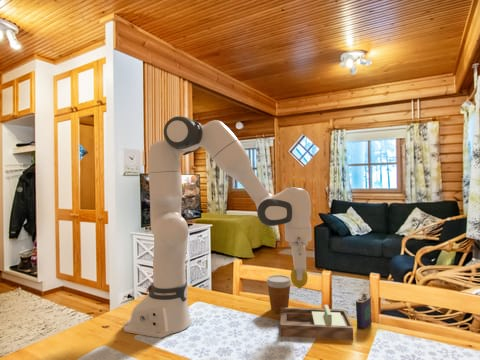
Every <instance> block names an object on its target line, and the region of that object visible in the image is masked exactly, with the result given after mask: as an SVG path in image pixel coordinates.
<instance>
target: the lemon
mask: <svg viewBox="0 0 480 360" xmlns="http://www.w3.org/2000/svg"><path fill="white" fill-rule="evenodd" d="M307 272H308V271H307V269H306V270H303V274H302V280H297V273H296V270H295V269H294V267H292V269H291V271H290V280H291V282H292V283H291V284H292V285H293V286H295V287H296V288H298V289H299V290H300V289H302V288H303V287H305V286H306V285H307V283H308V279H309V278H308V273H307Z"/></svg>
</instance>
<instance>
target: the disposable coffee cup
mask: <svg viewBox="0 0 480 360" xmlns="http://www.w3.org/2000/svg"><path fill="white" fill-rule="evenodd" d="M265 282H266V285H267V289H268V296H269V304H270V310H271V312H272V313H274V314H280V315H281V307H287V308H289V303H290V293H291V292H290V291H291V286H292V284H293V283H292V281H291V277H289V276H287V275H283V274H273V275H269V276H268V277H267V280H266V281H265Z"/></svg>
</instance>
